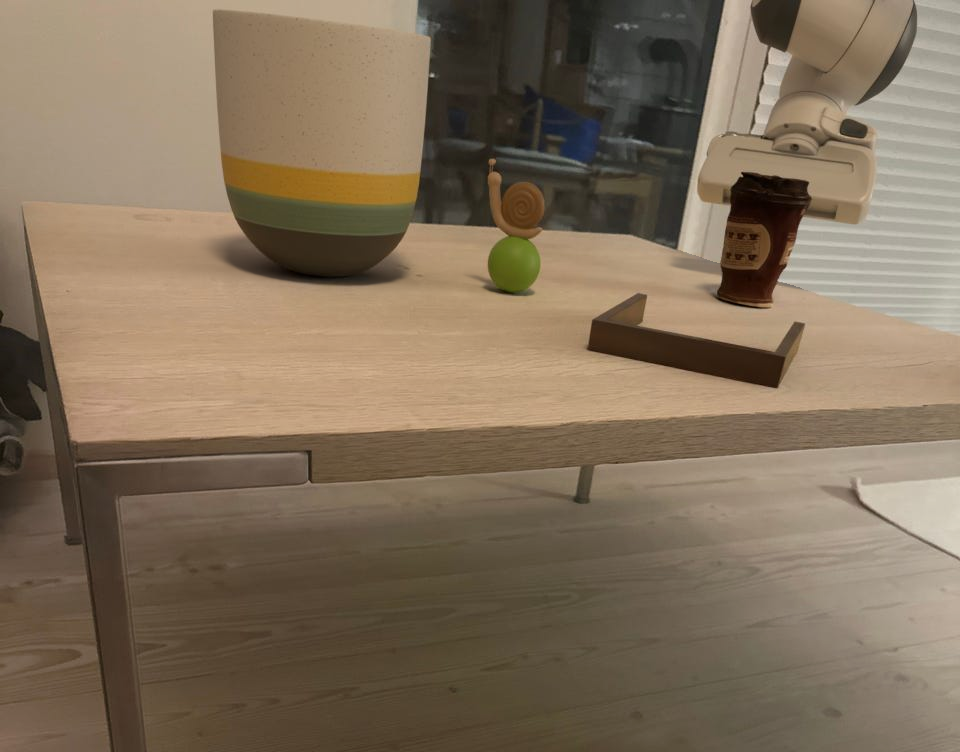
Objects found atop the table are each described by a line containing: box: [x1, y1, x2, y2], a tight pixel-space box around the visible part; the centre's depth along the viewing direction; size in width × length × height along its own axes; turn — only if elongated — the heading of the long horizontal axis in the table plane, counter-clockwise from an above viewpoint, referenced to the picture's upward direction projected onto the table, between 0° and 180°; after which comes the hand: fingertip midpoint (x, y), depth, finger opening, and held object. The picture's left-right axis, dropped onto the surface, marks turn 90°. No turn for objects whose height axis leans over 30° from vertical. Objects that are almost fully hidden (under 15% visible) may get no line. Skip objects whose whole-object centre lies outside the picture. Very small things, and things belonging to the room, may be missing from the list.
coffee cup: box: [716, 172, 812, 308], centre depth 101 cm, size 9×8×13 cm
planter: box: [212, 8, 432, 278], centre depth 89 cm, size 20×20×21 cm
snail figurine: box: [487, 158, 546, 293], centre depth 93 cm, size 5×6×12 cm
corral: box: [587, 292, 806, 389], centre depth 81 cm, size 16×16×2 cm
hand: (767, 236), depth 108 cm, fingers closed
